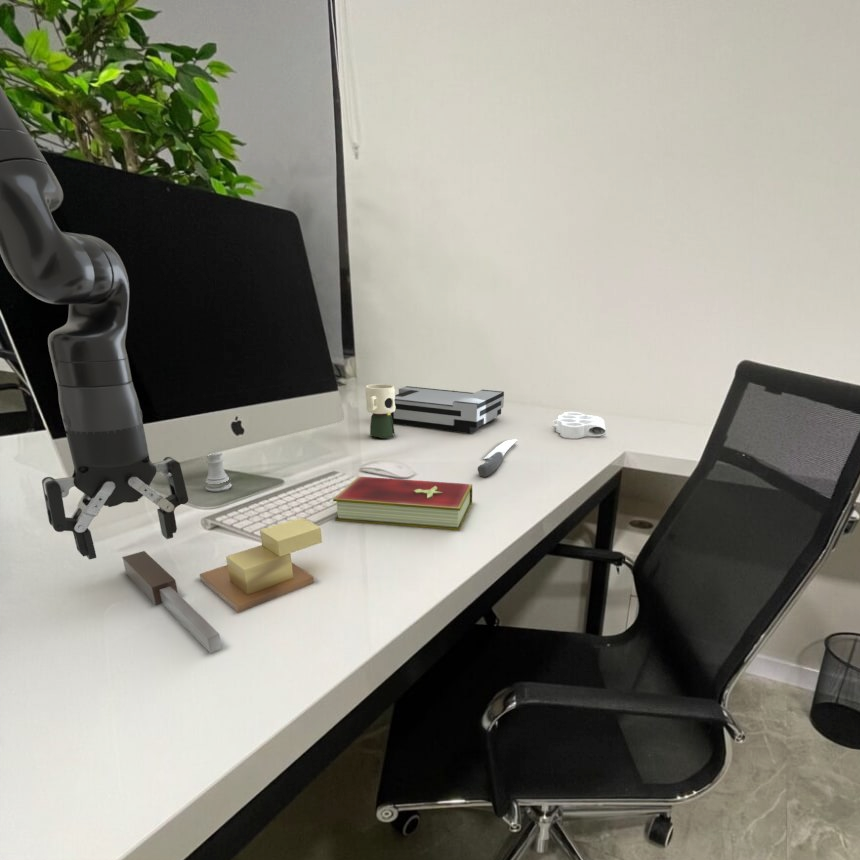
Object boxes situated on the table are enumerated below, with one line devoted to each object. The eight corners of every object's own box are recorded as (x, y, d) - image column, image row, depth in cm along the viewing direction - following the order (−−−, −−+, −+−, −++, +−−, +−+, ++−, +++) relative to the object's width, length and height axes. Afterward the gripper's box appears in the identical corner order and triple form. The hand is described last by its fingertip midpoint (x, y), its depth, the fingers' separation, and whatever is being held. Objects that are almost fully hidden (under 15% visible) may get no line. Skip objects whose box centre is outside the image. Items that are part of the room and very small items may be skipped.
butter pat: (279, 557, 69) (277, 541, 69) (261, 545, 72) (259, 529, 72) (322, 542, 74) (320, 527, 73) (303, 531, 77) (301, 517, 76)
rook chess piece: (203, 487, 104) (195, 446, 101) (228, 483, 106) (222, 443, 103) (209, 494, 100) (202, 452, 98) (235, 489, 103) (229, 448, 100)
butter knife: (203, 657, 58) (199, 636, 57) (126, 574, 73) (122, 556, 72) (228, 646, 60) (225, 626, 59) (148, 567, 75) (144, 550, 74)
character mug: (386, 443, 135) (384, 390, 131) (360, 441, 137) (356, 388, 132) (403, 433, 145) (402, 383, 140) (378, 431, 147) (376, 381, 142)
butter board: (238, 613, 65) (232, 580, 64) (200, 580, 72) (194, 549, 71) (314, 583, 72) (311, 552, 71) (273, 555, 79) (269, 527, 78)
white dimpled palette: (605, 440, 144) (549, 437, 146) (603, 425, 161) (552, 422, 162) (606, 428, 143) (550, 424, 145) (604, 413, 160) (553, 410, 161)
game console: (407, 408, 174) (406, 382, 171) (503, 419, 164) (504, 391, 161) (371, 422, 155) (369, 393, 152) (476, 435, 145) (476, 404, 142)
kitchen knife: (499, 437, 140) (518, 433, 139) (501, 446, 141) (520, 443, 140) (466, 469, 114) (488, 465, 112) (469, 480, 114) (492, 476, 113)
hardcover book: (360, 495, 102) (359, 474, 101) (472, 503, 100) (472, 481, 99) (335, 521, 91) (332, 497, 90) (459, 530, 89) (459, 506, 87)
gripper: (160, 408, 71) (180, 522, 77) (19, 423, 61) (54, 553, 67) (182, 419, 67) (201, 540, 73) (33, 437, 57) (70, 575, 63)
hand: (130, 546), depth 70 cm, fingers open, 8 cm apart
